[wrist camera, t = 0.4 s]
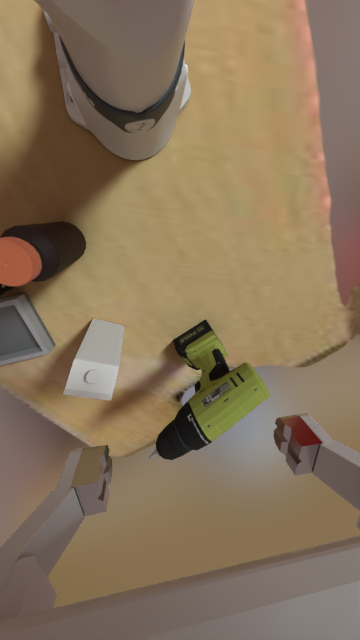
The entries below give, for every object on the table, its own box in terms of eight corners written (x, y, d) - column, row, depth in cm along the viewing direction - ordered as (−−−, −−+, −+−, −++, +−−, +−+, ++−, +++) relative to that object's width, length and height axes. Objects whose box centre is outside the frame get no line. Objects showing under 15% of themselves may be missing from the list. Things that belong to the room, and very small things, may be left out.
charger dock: (-42, 307, 41) (-59, 315, 38) (25, 292, 42) (15, 299, 38) (-3, 359, 47) (-14, 370, 44) (55, 345, 48) (49, 354, 45)
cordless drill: (154, 378, 57) (162, 480, 35) (138, 362, 54) (136, 464, 32) (226, 333, 54) (284, 414, 32) (214, 313, 51) (269, 388, 29)
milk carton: (117, 349, 51) (106, 415, 35) (87, 343, 49) (59, 410, 32) (124, 325, 49) (116, 383, 32) (93, 317, 47) (66, 375, 30)
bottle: (38, 235, 38) (-52, 254, 20) (67, 213, 37) (0, 213, 19) (66, 266, 41) (11, 306, 23) (94, 247, 40) (57, 273, 23)
